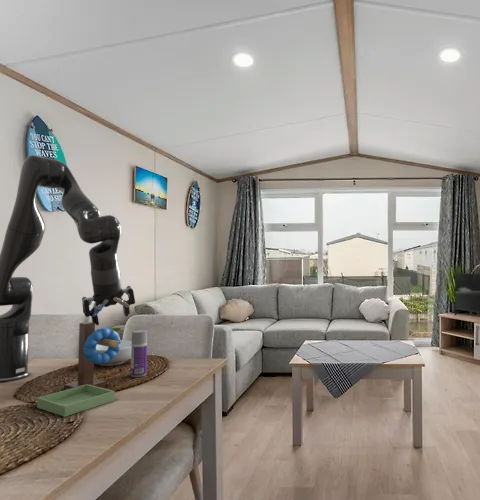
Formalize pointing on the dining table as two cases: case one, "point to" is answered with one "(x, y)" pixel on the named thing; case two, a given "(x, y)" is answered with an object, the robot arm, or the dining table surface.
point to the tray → (75, 399)
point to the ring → (92, 342)
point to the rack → (83, 364)
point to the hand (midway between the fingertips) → (111, 319)
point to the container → (139, 353)
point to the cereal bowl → (121, 356)
